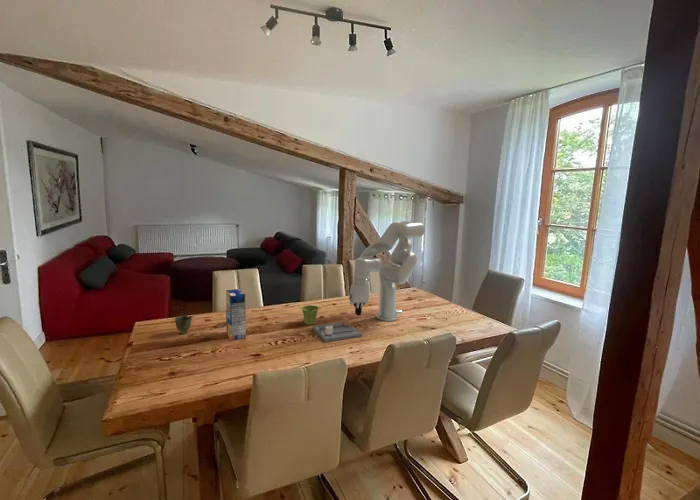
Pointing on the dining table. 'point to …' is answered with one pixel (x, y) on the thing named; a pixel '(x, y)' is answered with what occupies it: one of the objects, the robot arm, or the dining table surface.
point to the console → (337, 332)
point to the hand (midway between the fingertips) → (358, 314)
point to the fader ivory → (328, 330)
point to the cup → (183, 323)
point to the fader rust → (345, 321)
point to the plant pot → (310, 314)
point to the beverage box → (236, 314)
